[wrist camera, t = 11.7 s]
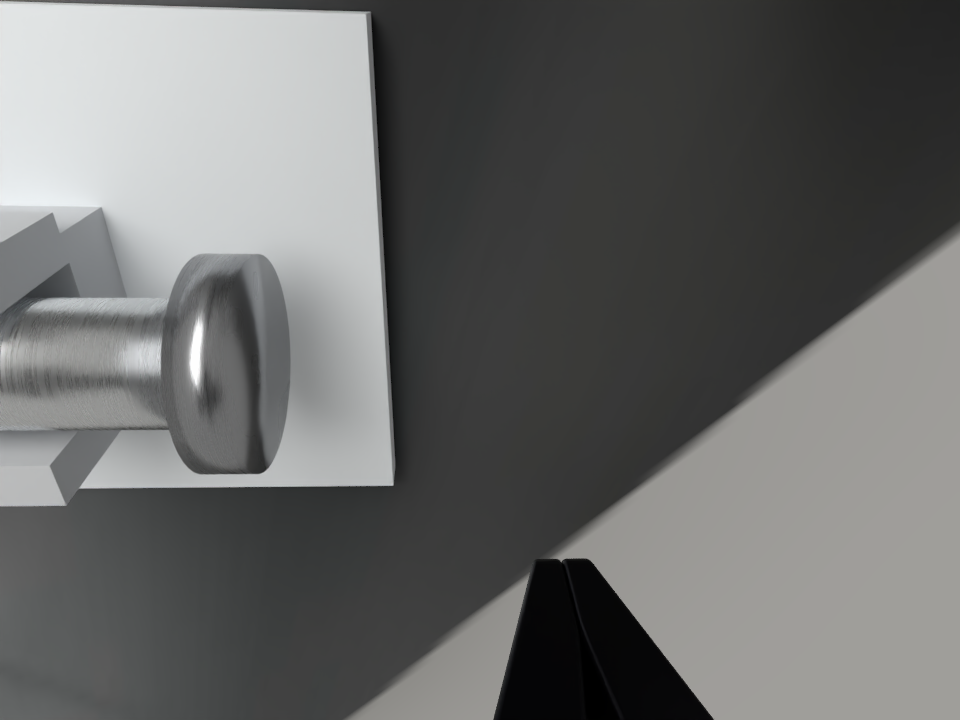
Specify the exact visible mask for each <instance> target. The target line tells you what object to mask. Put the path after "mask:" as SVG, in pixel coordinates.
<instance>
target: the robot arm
mask: <svg viewBox="0 0 960 720" xmlns="http://www.w3.org/2000/svg"><path fill="white" fill-rule="evenodd" d="M494 720H714V719H713V718H712V716H711V715H710V714H709V713H708V711H707V710H706V709H705V707H704V706H703V705H702V704H701V702H700V701H699V700H698V699H697V697H696V696H695V695H694V693H693V692H692V691H691V689H690V688H689V687H688V686H687V684H686V683H685V682H684V680H683V679H682V678H681V677H680V675H679V674H678V673H677V672H676V670H675V669H674V667H673V666H672V665H671V664H670V662H669V661H668V660H667V659H666V657H665V656H664V655H663V653H662V652H661V651H660V649H659V648H658V647H657V646H656V644H655V643H654V642H653V640H652V639H651V638H650V637H649V635H648V634H647V633H646V631H645V630H644V629H643V627H642V626H641V625H640V624H639V622H638V621H637V620H636V619H635V617H634V616H633V615H632V613H631V612H630V611H629V609H628V608H627V607H626V606H625V604H624V603H623V602H622V600H621V599H620V598H619V596H618V595H617V594H616V593H615V591H614V590H613V589H612V588H611V586H610V585H609V584H608V582H607V581H606V580H605V578H604V577H603V576H602V575H601V573H600V572H599V571H598V570H597V568H596V567H595V566H594V564H593V563H592V562H591V561H590V560H588V559H564V560H563V561H562V562H560V560H558V559H537V560H535V561H534V562H533V564H532V568H531V572H530V576H529V580H528V584H527V588H526V592H525V596H524V600H523V604H522V608H521V612H520V616H519V620H518V624H517V628H516V632H515V636H514V640H513V644H512V648H511V652H510V656H509V660H508V664H507V668H506V672H505V676H504V680H503V684H502V688H501V692H500V696H499V699H498V704H497V707H496V711H495V715H494Z"/></svg>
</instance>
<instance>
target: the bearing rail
mask: <svg viewBox="0 0 960 720" xmlns="http://www.w3.org/2000/svg"><path fill="white" fill-rule="evenodd" d="M204 253H210V254H261V255H264V256H265V257H266V258H267V259H268V260H269V261H270V262H271V264H272V265H273V267H274V269H275V271H276V273H277V275H278V278H279V281H280V284H281V287H282V291H283V295H284V300H285V304H286V310H287V317H288V325H289V336H290V360H291V365H290V390H289V401H288V409H287V416H286V422H285V427H284V431H283V435H282V439H281V443H280V446H279V449H278V451H277V454H276V456H275V458H274V460H273V462H272V464H271V465H270V466H269V468H268V469H267V470H266V471H265V472H263V473H261V474H206V475H205V474H197V473H194V472H193V471H191V470H190V469H189V468H188V467H187V466H186V465H185V464H184V463H183V461H182V460H181V458H180V456H179V455H178V453H177V450H176V448H175V446H174V444H173V441H172V438H171V435H170V432H169V430H30V431H0V506H66V505H67V504H68V503H69V501H70V500H71V498H72V497H73V496H74V494H75V493H76V492H77V490H78V489H79V488H183V487H299V486H393V484H394V475H395V449H394V431H393V412H392V394H391V376H390V357H389V339H388V320H387V302H386V283H385V265H384V247H383V228H382V210H381V191H380V173H379V154H378V136H377V118H376V99H375V81H374V62H373V44H372V25H371V12H358V11H323V10H288V9H253V8H218V7H184V6H149V5H114V4H79V3H44V2H9V1H0V313H2V312H3V311H5V310H6V309H7V308H9V307H10V306H11V305H13V304H14V303H15V302H17V301H18V300H19V299H21V298H22V297H69V298H170V295H171V292H172V289H173V286H174V284H175V281H176V279H177V277H178V275H179V273H180V271H181V270H182V268H183V267H184V265H185V264H186V263H187V262H188V261H189V260H190V259H191V258H192V257H194V256H196V255H198V254H204Z"/></svg>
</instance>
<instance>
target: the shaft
mask: <svg viewBox="0 0 960 720" xmlns="http://www.w3.org/2000/svg"><path fill="white" fill-rule="evenodd" d="M290 365H291V360H290V336H289V325H288V317H287V310H286V304H285V300H284V295H283V291H282V287H281V284H280V281H279V278H278V275H277V273H276V271H275V269H274V267H273V265H272V264H271V262H270V261H269V260H268V259H267V258H266V257H265V256H264V255H261V254H210V253H204V254H198V255H196V256H194V257H192V258H191V259H190V260H189V261H188V262H187V263H186V264H185V265H184V267H183V268H182V270H181V271H180V273H179V275H178V277H177V279H176V281H175V284H174V286H173V289H172V292H171V295H170V298H69V297H22V298H21V299H19V300H18V301H17V302H15V303H14V304H13V305H11V306H10V307H9V308H7V309H6V310H5V311H3V312H2V313H0V431H30V430H169V432H170V435H171V438H172V441H173V444H174V446H175V448H176V450H177V453H178V455H179V456H180V458H181V460H182V461H183V463H184V464H185V465H186V466H187V467H188V468H189V469H190V470H191V471H193V472H194V473H197V474H205V475H206V474H261V473H263V472H265V471H266V470H267V469H268V468H269V466H270V465H271V464H272V462H273V460H274V458H275V456H276V454H277V451H278V449H279V446H280V443H281V439H282V435H283V431H284V427H285V422H286V416H287V409H288V401H289V390H290Z"/></svg>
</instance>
